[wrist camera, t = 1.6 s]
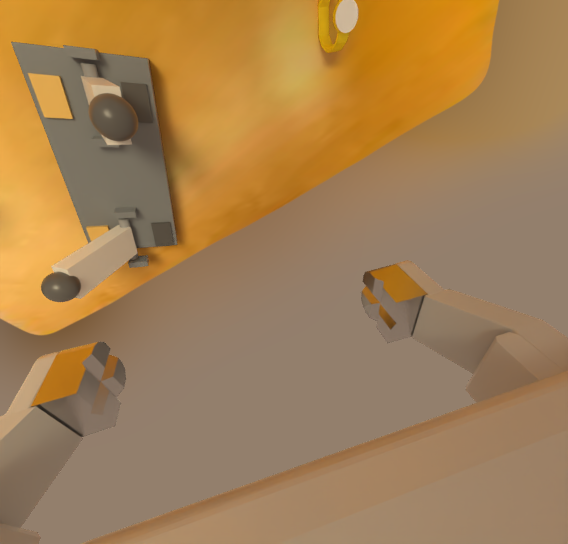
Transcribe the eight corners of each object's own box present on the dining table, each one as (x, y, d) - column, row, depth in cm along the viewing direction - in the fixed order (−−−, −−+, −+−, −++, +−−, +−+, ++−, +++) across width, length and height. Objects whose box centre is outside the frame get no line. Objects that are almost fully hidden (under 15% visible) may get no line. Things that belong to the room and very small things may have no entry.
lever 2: (137, 219, 35) (49, 275, 25) (146, 257, 39) (73, 320, 28) (114, 214, 35) (19, 269, 25) (126, 253, 39) (46, 314, 28)
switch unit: (148, 56, 29) (146, 55, 26) (178, 247, 44) (179, 262, 40) (23, 40, 26) (1, 37, 22) (100, 253, 40) (94, 271, 37)
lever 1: (106, 65, 27) (132, 73, 18) (122, 132, 30) (149, 163, 22) (67, 61, 25) (76, 67, 17) (88, 132, 29) (104, 166, 20)
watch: (332, 49, 35) (356, 52, 31) (312, 52, 34) (334, 56, 30) (333, -18, 31) (361, -25, 27) (311, -16, 30) (336, -23, 26)
